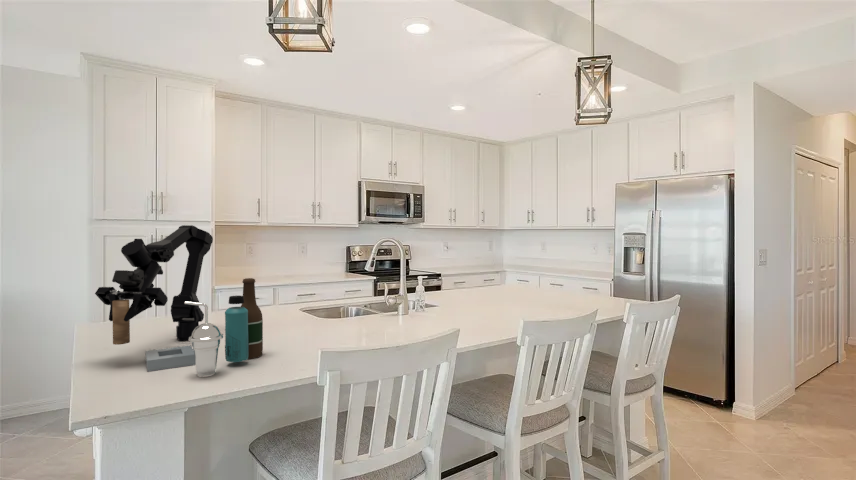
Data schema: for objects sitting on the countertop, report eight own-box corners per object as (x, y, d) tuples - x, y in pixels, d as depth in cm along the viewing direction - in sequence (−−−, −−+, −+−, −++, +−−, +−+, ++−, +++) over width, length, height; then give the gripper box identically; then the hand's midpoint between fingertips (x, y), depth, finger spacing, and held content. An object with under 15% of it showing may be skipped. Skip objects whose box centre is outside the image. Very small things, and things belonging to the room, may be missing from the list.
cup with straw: (210, 380, 120) (210, 303, 119) (179, 378, 121) (178, 302, 121) (230, 370, 128) (229, 298, 128) (200, 368, 130) (200, 297, 129)
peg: (129, 340, 134) (129, 299, 133) (130, 343, 130) (129, 300, 130) (112, 342, 131) (112, 300, 131) (112, 345, 128) (112, 302, 128)
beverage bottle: (253, 362, 136) (253, 294, 135) (237, 368, 130) (237, 297, 129) (236, 360, 138) (235, 293, 138) (219, 366, 132) (218, 296, 131)
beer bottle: (268, 354, 144) (267, 278, 144) (249, 360, 137) (248, 280, 137) (249, 351, 148) (249, 276, 147) (230, 357, 141) (229, 279, 140)
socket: (190, 354, 143) (190, 345, 143) (195, 364, 133) (195, 354, 133) (145, 360, 137) (145, 350, 137) (147, 371, 127) (147, 360, 127)
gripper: (99, 259, 135) (68, 303, 124) (161, 259, 134) (135, 304, 123) (119, 283, 143) (91, 326, 132) (177, 283, 142) (154, 327, 131)
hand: (117, 320), depth 129 cm, fingers closed on peg, 4 cm apart
